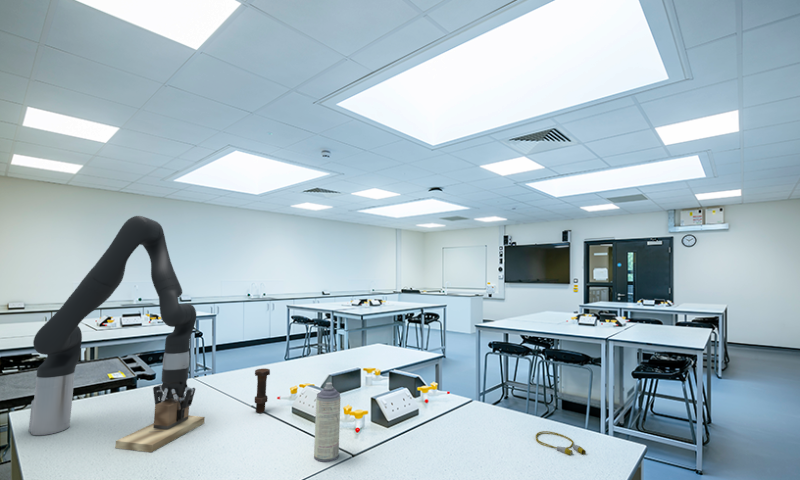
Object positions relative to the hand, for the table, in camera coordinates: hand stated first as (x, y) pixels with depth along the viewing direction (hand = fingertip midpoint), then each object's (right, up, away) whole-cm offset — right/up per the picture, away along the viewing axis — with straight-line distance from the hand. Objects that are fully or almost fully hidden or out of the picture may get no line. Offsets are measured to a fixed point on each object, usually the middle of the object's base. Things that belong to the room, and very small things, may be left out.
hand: (172, 419), depth 124 cm
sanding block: (0, -1, 0) cm, 1 cm away
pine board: (-1, -3, -4) cm, 5 cm away
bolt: (+22, -5, +17) cm, 29 cm away
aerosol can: (+53, -3, -16) cm, 55 cm away
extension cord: (+123, -6, -4) cm, 123 cm away
